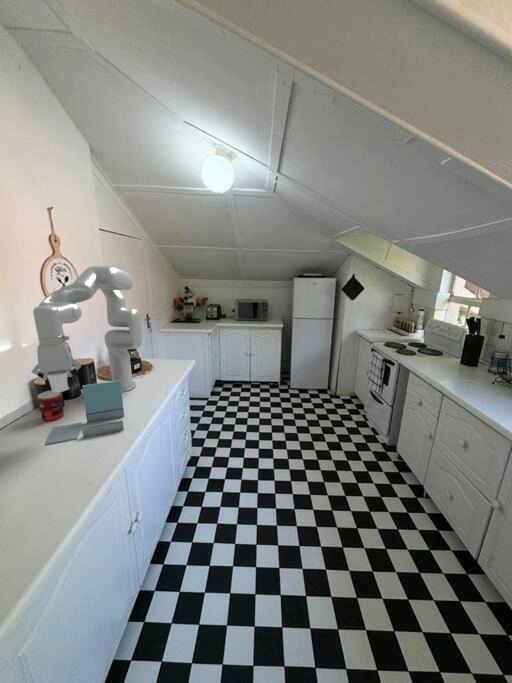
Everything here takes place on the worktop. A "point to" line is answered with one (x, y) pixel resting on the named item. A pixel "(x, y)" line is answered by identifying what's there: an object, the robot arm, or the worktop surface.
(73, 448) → the worktop surface
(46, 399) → the canned food
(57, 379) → the shot glass
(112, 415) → the grey flat bars
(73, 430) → the mat
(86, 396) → the panel
